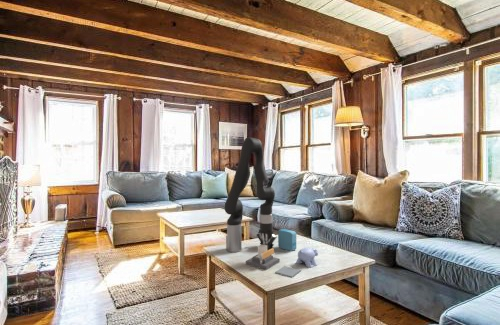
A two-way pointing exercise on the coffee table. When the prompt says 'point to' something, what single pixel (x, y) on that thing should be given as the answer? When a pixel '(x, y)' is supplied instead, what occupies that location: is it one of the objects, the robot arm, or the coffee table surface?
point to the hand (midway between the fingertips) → (266, 250)
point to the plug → (262, 250)
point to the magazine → (269, 245)
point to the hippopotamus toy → (307, 257)
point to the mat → (288, 271)
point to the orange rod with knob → (266, 254)
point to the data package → (287, 239)
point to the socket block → (263, 262)
